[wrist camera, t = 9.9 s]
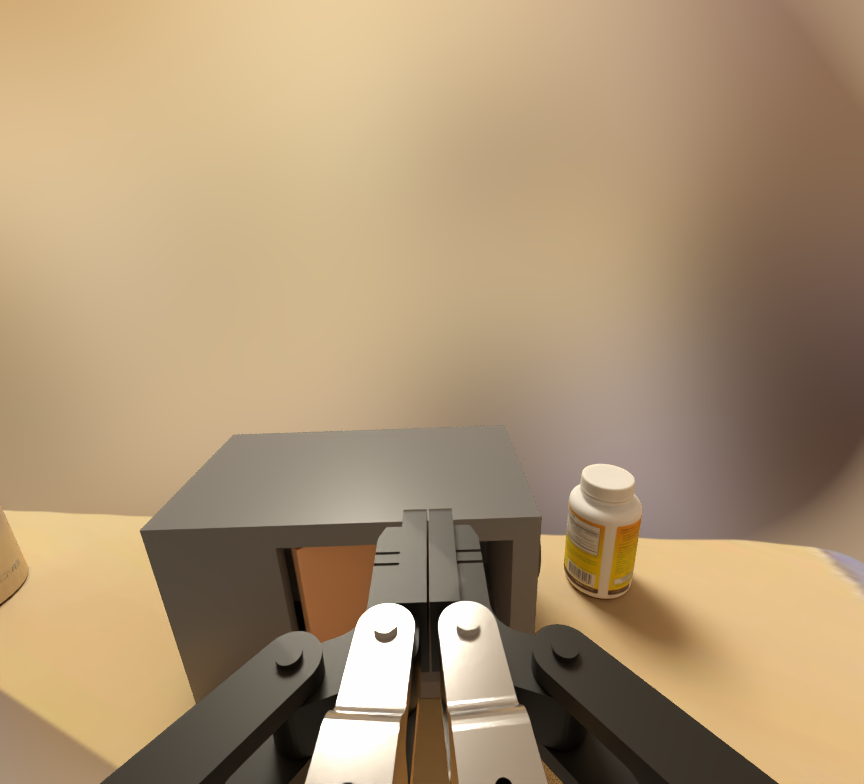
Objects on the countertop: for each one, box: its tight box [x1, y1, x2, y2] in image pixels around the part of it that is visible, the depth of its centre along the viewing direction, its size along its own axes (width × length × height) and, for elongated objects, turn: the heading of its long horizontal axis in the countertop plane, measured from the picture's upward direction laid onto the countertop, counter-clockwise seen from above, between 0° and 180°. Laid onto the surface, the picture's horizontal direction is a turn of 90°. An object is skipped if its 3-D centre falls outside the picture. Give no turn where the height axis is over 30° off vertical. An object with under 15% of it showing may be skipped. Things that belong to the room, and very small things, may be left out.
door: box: [291, 543, 430, 643], centre depth 30 cm, size 12×2×10 cm, turn 128°
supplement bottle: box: [564, 464, 642, 599], centre depth 36 cm, size 6×6×10 cm
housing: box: [140, 425, 542, 704], centre depth 31 cm, size 23×12×14 cm, turn 90°
